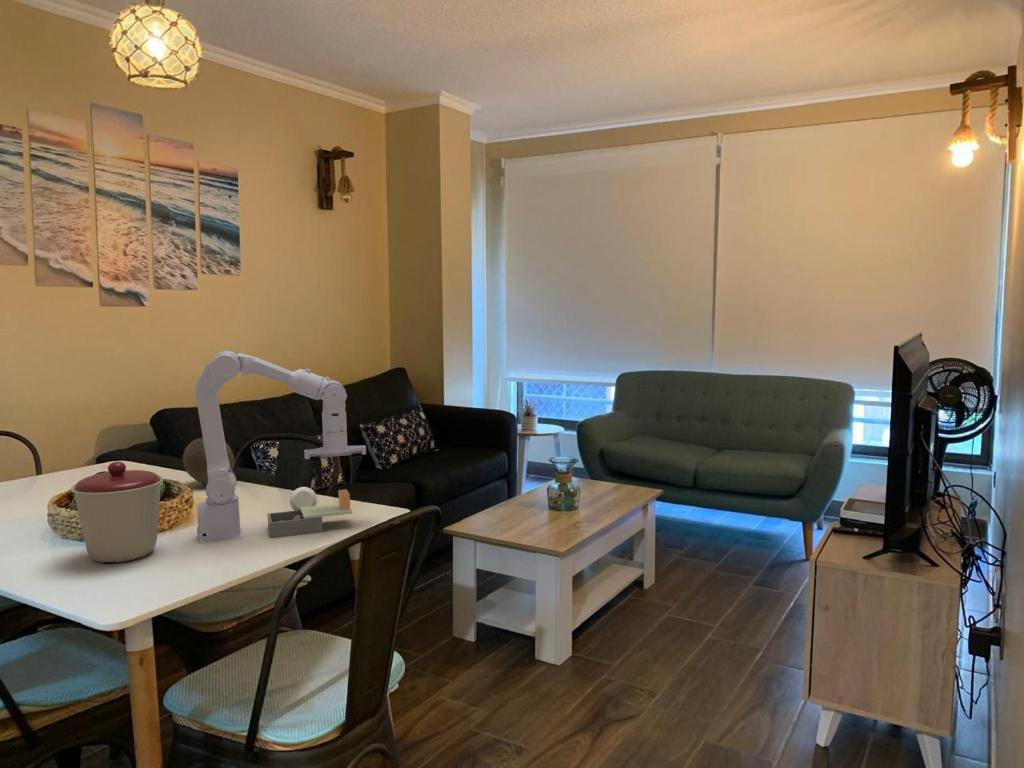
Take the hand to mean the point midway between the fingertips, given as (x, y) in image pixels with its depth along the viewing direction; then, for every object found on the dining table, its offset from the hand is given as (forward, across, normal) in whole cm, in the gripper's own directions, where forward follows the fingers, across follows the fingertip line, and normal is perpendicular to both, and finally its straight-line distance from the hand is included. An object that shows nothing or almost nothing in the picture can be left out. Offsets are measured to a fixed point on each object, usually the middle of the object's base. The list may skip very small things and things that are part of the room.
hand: (336, 485), depth 188 cm
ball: (+10, +9, -1) cm, 14 cm away
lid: (+6, +3, 0) cm, 7 cm away
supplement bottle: (+7, +7, -17) cm, 20 cm away
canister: (+11, +47, +4) cm, 49 cm away
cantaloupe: (+11, +30, -58) cm, 67 cm away
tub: (+10, +10, 0) cm, 15 cm away
